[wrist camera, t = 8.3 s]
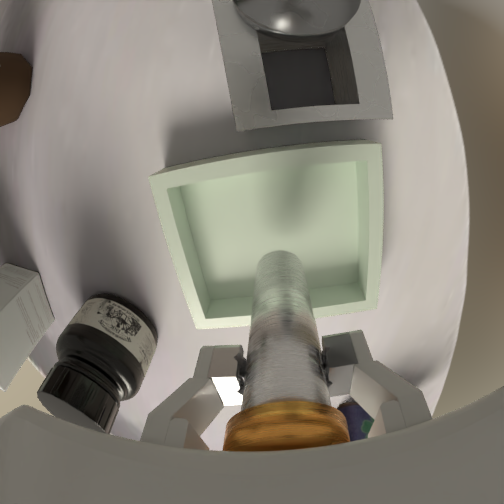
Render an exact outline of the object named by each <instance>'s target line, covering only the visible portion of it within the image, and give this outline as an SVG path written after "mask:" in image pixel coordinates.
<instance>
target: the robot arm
mask: <svg viewBox="0 0 504 504" xmlns="http://www.w3.org/2000/svg"><path fill="white" fill-rule="evenodd" d="M322 347H323V351H322V358H323V363H324V368H325V373H326V380H327V385H328V390H329V396H330V397H332V396H339V395H346V394H350V396H351V397H352V398H353V399H354V400H355V401H356V402H357V403H358V404H359V405H360V406H361V407H362V408H363V409H364V410H365V411H366V412H367V413H368V414H369V415H370V416H371V417H372V418H373V419H374V423H373V425H372V427H371V429H370V432H369V434H368V438H366V439H361V440H357V441H351V442H346V443H340V444H334V445H328V446H321V447H313V448H304V449H293V450H279V451H213V450H209V448H208V446H207V445H206V444H205V443H204V441H203V440H202V439H201V438H200V435H201V434H202V433H203V432H204V431H205V429H206V428H207V427H208V426H209V425H210V423H211V422H212V421H213V420H214V418H215V417H216V416H217V415H218V413H219V412H220V411H221V410H222V408H223V407H224V405H242V397H243V388H244V379H245V370H246V359H245V358H244V357H243V352H244V351H243V348H242V345H221V346H203V347H202V348H201V349H200V353H199V357H198V361H197V364H196V368H195V372H194V376H193V378H189V379H188V380H187V381H186V382H185V383H183V384H182V385H181V386H180V387H179V388H178V389H177V390H176V391H174V392H173V393H172V394H171V395H170V396H169V397H168V398H167V399H165V400H164V401H163V402H162V403H161V404H160V405H159V406H157V407H156V408H155V409H154V410H153V411H152V412H150V413H149V414H148V417H147V420H146V423H145V427H144V430H143V433H142V436H141V439H140V441H136V440H132V439H127V438H123V437H118V436H114V435H110V434H107V433H103V432H99V431H96V430H92V429H89V428H86V427H83V426H79V425H76V424H73V423H71V422H68V421H65V420H62V419H60V418H57V417H54V416H52V415H49V414H47V413H44V412H42V411H40V410H37V409H35V408H33V407H31V406H28V405H21V406H19V407H17V408H15V409H14V410H12V411H11V412H9V413H8V414H6V415H4V416H3V417H2V418H0V504H504V386H503V387H501V388H499V389H497V390H495V391H493V392H492V393H490V394H488V395H486V396H484V397H482V398H480V399H478V400H476V401H474V402H472V403H470V404H468V405H465V406H463V407H461V408H459V409H456V410H454V411H452V412H449V413H447V414H444V415H442V416H439V417H437V418H434V419H432V417H431V414H430V411H429V408H428V406H427V403H426V401H425V398H424V395H423V393H422V391H421V390H419V389H418V388H416V387H415V386H413V385H412V384H411V383H409V382H408V381H406V380H405V379H403V378H402V377H400V376H399V375H397V374H396V373H395V372H393V371H392V370H390V369H389V368H387V367H386V366H384V365H383V364H382V363H380V362H379V361H377V360H376V361H373V359H372V356H371V353H370V350H369V347H368V344H367V342H366V339H365V336H364V334H363V331H362V330H357V331H351V332H345V333H339V334H333V335H327V336H322Z"/></svg>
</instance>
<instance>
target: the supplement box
mask: <svg viewBox="0 0 504 504" xmlns="http://www.w3.org/2000/svg"><path fill="white" fill-rule="evenodd" d="M53 322H54V317H53V315H52V312H51V309H50V306H49V304H48V301H47V298H46V295H45V292H44V289H43V285H42V282H41V279H40V275H39V273H37V272H34V271H31V270H28V269H25V268H21V267H18V266H15V265H12V264H8V263H5V264H4V265H3V266H1V267H0V389H1V390H2V391H4V392H6V390H7V388H8V386H9V385H10V383H11V382H12V380H13V378H14V377H15V375H16V374H17V372H18V370H19V369H20V368H21V366H22V365H23V363H24V362H25V360H26V359H27V357H28V356H29V354H30V353H31V352H32V350H33V349H34V347H35V346H36V344H37V343H38V342H39V340H40V339H41V338H42V336H43V335H44V334H45V332H46V331H47V330H48V328H49V327H50V326H51V324H52V323H53Z"/></svg>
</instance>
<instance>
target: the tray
mask: <svg viewBox="0 0 504 504" xmlns="http://www.w3.org/2000/svg"><path fill="white" fill-rule="evenodd" d="M148 178H149V182H150V186H151V190H152V194H153V197H154V201H155V205H156V208H157V212H158V215H159V219H160V222H161V226H162V229H163V232H164V236H165V239H166V242H167V246H168V249H169V252H170V255H171V258H172V261H173V264H174V267H175V270H176V273H177V276H178V279H179V282H180V285H181V288H182V291H183V294H184V296H185V299H186V302H187V305H188V307H189V310H190V313H191V316H192V318H193V321H194V323H195V326H196V329H210V328H226V327H239V326H250V323H251V314H252V304H253V295H254V285H255V275H256V267H257V264H258V262H259V261H260V259H261V258H262V257H263V256H264V255H266V254H267V253H270V252H272V251H277V250H284V251H288V252H291V253H293V254H295V255H296V256H297V257H298V258H299V259H300V261H301V262H302V265H303V268H304V272H305V277H306V281H307V285H308V290H309V294H310V299H311V303H312V308H313V313H314V317H315V318H321V317H328V316H335V315H342V314H348V313H354V312H360V311H366V310H372V309H377V303H378V295H379V285H380V274H381V262H382V245H383V206H384V203H383V165H382V149H381V143H377V142H373V141H369V140H365V139H362V140H343V141H329V142H317V143H307V144H297V145H289V146H281V147H273V148H266V149H259V150H252V151H246V152H240V153H234V154H228V155H223V156H218V157H212V158H207V159H203V160H198V161H193V162H188V163H184V164H180V165H175V166H171V167H167V168H164V169H162V170H160V171H158V172H156V173H154V174H152V175H151V176H149V177H148Z"/></svg>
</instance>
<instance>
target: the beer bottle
mask: <svg viewBox="0 0 504 504" xmlns="http://www.w3.org/2000/svg"><path fill="white" fill-rule="evenodd" d="M31 76H32V67H31V66H30V64H29V63H28V62H27V61H26V59H25V58H24V57H23V56H22V55H21V54H17V53H9V52H0V127H1V126H4V125H6V124H9V123H11V122H14V121H16V120H17V119H18V118H19V116H20V113H21V111H22V109H23V107H24V105H25V103H26V102H27V100H28V98H29V96H30V88H31Z"/></svg>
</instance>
